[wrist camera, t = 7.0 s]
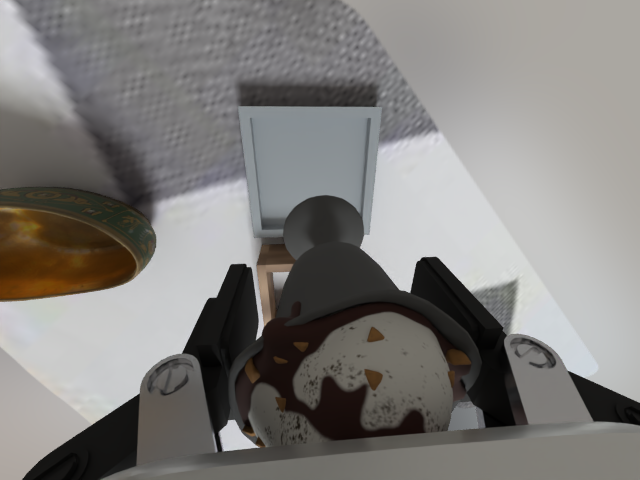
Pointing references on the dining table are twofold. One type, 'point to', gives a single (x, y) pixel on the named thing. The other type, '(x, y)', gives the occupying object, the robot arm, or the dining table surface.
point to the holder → (271, 275)
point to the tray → (307, 159)
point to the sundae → (347, 346)
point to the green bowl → (68, 242)
